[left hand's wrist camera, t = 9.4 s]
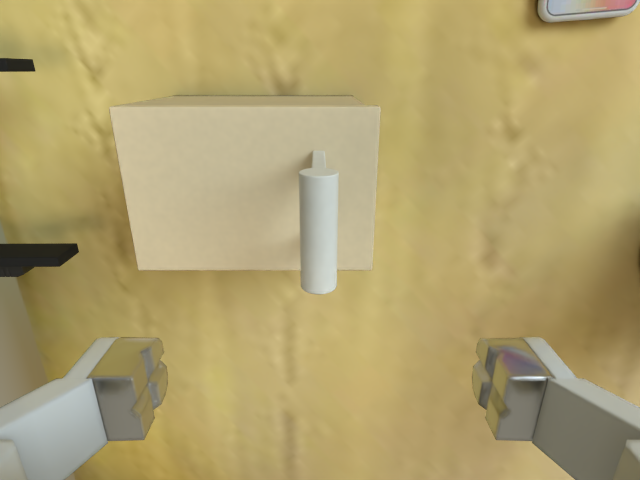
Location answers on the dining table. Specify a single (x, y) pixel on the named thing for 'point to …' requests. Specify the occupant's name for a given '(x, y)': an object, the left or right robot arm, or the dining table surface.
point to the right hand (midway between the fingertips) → (47, 167)
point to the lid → (251, 187)
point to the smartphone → (583, 9)
